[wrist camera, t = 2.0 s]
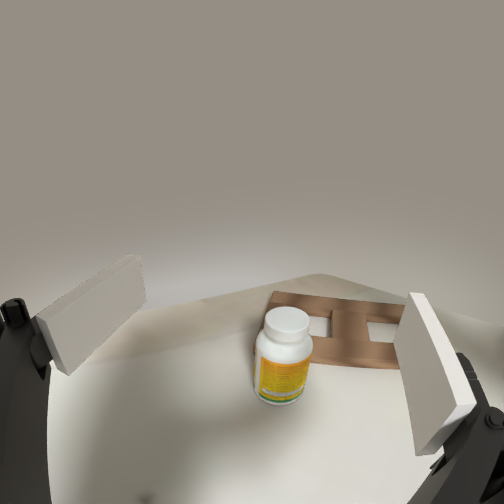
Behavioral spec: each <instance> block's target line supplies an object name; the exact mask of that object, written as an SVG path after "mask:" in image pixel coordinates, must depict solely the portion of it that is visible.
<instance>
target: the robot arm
mask: <svg viewBox="0 0 504 504" xmlns="http://www.w3.org/2000/svg"><path fill="white" fill-rule="evenodd" d="M145 303H146V295H145V288H144V281H143V273H142V265H141V257H140V256H139V255H133V254H128V255H126V256H125V257H123V258H122V259H120V260H118V261H117V262H116V263H114V264H112V265H110V266H109V267H107V268H106V269H104V270H102V271H101V272H99V273H98V274H97V275H95V276H93V277H92V278H90V279H88V280H87V281H85V282H84V283H82V284H81V285H79V286H78V287H76V288H75V289H73V290H72V291H70V292H69V293H67V294H66V295H64V296H63V297H61V298H60V299H58V300H57V301H55V302H54V303H53V304H51V305H50V306H48V307H47V308H45V309H44V310H43V311H41V312H40V313H38V314H37V315H36V316H34V317H33V318H32V319H30V316H29V313H28V310H27V308H26V305H25V302H24V300H23V299H21V298H14V299H10V300H9V301H6V302H5V303H3V304H2V305H1V307H0V310H1V312H2V315H3V318H4V320H5V322H4V321H3V319H2V316H1V314H0V504H52V502H51V495H50V486H49V476H48V461H47V412H48V396H49V385H50V375H51V366H50V364H49V362H50V361H51V360H52V359H53V360H54V362H55V365H56V367H57V369H58V370H60V371H61V372H63V373H65V374H66V375H68V376H69V375H70V374H71V373H72V372H73V371H74V370H75V369H76V368H77V367H79V366H80V365H81V364H82V363H83V362H84V361H85V360H86V359H87V358H88V357H89V356H90V355H91V354H92V353H93V352H94V351H95V350H96V349H97V348H98V347H99V346H100V345H101V344H102V343H103V342H104V341H105V340H106V339H107V338H108V337H109V336H111V335H112V334H113V333H114V332H115V331H116V330H117V329H118V328H119V327H120V326H121V325H122V324H123V323H124V322H125V321H126V320H127V319H129V318H130V317H131V316H132V315H133V314H134V313H135V312H136V311H137V310H138V309H139V308H140V307H141V306H142V305H144V304H145ZM393 343H394V347H395V351H396V355H397V359H398V363H399V367H400V371H401V375H402V380H403V384H404V389H405V394H406V399H407V404H408V409H409V415H410V420H411V426H412V433H413V440H414V447H415V455H416V456H421V455H430V454H435V453H436V452H437V451H438V449H439V448H440V447H441V446H442V445H443V447H444V454H443V455H442V456H441V457H440V458H439V459H438V460H437V461H436V462H435V463H434V464H433V465H432V466H431V467H430V469H432V468H433V467H434V468H433V469H432V471H431V472H430V474H429V475H428V477H427V478H426V480H425V481H424V482H423V484H422V485H421V486H420V488H419V489H418V491H417V492H416V493H415V494H414V496H413V497H412V498H411V500H410V501H409V502H408V503H407V504H504V413H503V412H502V411H501V410H499V409H498V408H495V407H490V406H489V404H488V401H487V399H486V396H485V394H484V392H483V389H482V387H481V385H480V383H479V380H477V376H476V374H475V372H474V369H473V367H472V365H471V363H470V361H469V360H468V359H467V358H466V357H465V356H464V355H463V354H462V353H455V351H454V349H453V347H452V345H451V343H450V341H449V339H448V337H447V335H446V333H445V331H444V329H443V327H442V326H441V324H440V322H439V320H438V318H437V316H436V314H435V313H434V311H433V309H432V307H431V305H430V304H429V302H428V300H427V298H426V297H425V295H424V294H421V293H413V292H409V295H408V298H407V302H406V305H405V308H404V311H403V314H402V317H401V320H400V323H399V326H398V329H397V331H396V334H395V337H394V340H393Z"/></svg>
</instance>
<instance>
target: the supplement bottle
mask: <svg viewBox="0 0 504 504" xmlns="http://www.w3.org/2000/svg"><path fill="white" fill-rule="evenodd" d="M309 326H310V318H309V316H308V315H307V314H306V313H305V312H304V311H302V310H300V309H298V308H294V307H277V308H274V309H272V310H270V311H269V312H268V313H267V314H266V316H265V323H264V329H263V330H262V331H261V332H260V333H259V334H258V336H257V339H256V348H255V368H254V390H255V393H256V394H257V396H258V397H259V398H260V399H261V400H263V401H265V402H267V403H269V404H273V405H287V404H290V403H292V402H294V401H296V400H297V399H298V398H299V397H300V396H301V394H302V392H303V389H304V385H305V380H306V376H307V372H308V367H309V363H310V358H311V354H312V349H313V342H312V338H311V336H310V335H309Z"/></svg>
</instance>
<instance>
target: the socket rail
mask: <svg viewBox="0 0 504 504" xmlns="http://www.w3.org/2000/svg"><path fill="white" fill-rule="evenodd" d="M277 307H294V308H298V309H300V310H302V311H304V312H305V313H306V314H307V315H311V316H319V317H328V318H331V338H327V337H318V336H311V338H312V342H313V349H312V354H311V358H310V363H318V364H328V365H338V366H349V367H362V368H379V369H400V367H399V363H398V359H397V355H396V351H395V347H394V343H384V342H370V339H369V333H368V328H367V322H366V321H368V322H379V323H392V324H399V323H400V320H401V317H402V314H403V311H404V308H405V305H398V304H387V303H376V302H366V301H356V300H346V299H337V298H328V297H319V296H311V295H302V294H294V293H286V292H278V291H274V292H273V295H272V298H271V300H270V303H269V306H268V308H267V311H266V314H267V313H268V312H269V311H270V310H272V309H274V308H277ZM266 314H265V316H266ZM265 316H264V319H263V322H262V324H261V327H260V330H259V332H258V334H259V333H260V332H261V331H262V330H263V329H264V323H265ZM257 336H258V335H257ZM256 339H257V338H256ZM255 348H256V340H255V343H254V349H253V354H255Z"/></svg>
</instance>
